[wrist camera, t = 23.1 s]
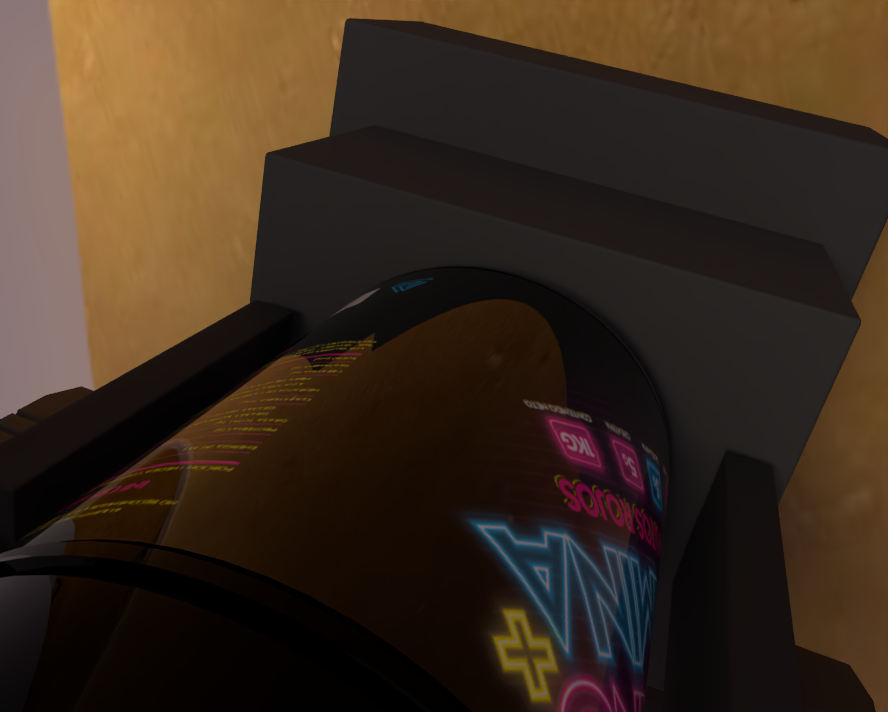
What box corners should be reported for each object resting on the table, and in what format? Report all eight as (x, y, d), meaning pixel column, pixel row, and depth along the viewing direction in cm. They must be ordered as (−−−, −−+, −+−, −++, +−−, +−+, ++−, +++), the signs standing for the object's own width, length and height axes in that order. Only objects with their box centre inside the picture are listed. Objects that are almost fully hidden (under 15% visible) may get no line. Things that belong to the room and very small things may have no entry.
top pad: (325, 423, 22) (225, 522, 17) (373, 124, 18) (264, 151, 14) (695, 553, 20) (688, 703, 15) (824, 243, 16) (863, 320, 12)
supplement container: (506, 650, 16) (224, 1461, 7) (253, 427, 16) (-368, 945, 7) (766, 443, 13) (880, 1411, 4) (453, 166, 13) (-189, 476, 4)
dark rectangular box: (353, 399, 27) (282, 470, 23) (419, 20, 22) (344, 17, 18) (709, 521, 25) (707, 626, 20) (873, 128, 20) (917, 154, 15)
